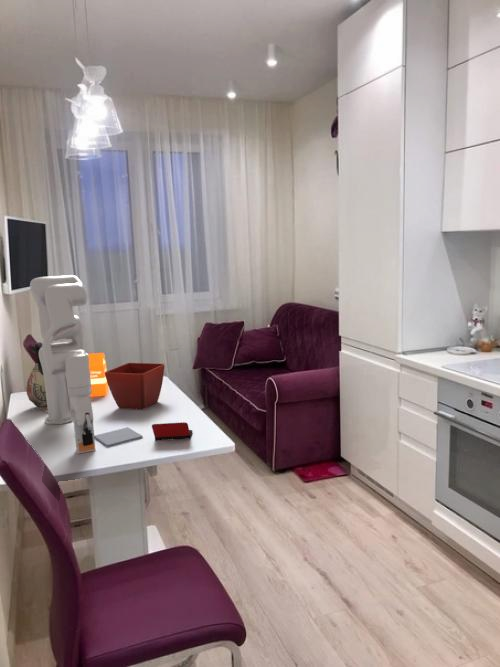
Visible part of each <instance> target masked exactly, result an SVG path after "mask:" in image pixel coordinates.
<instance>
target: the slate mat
mask: <svg viewBox="0 0 500 667" xmlns="http://www.w3.org/2000/svg"><path fill="white" fill-rule="evenodd" d="M94 439H95V440H96V441H98V442H100V443H101V444H102V445H103V446H105V447H106V448H110V447H114V446H118V445H121V444H125V443H129V442H133V441H136V440H141V439H143V435H142V434H140V433H139V432H137V431H136V430H133V429H132V428H130V427H128V426H127V427H123V428H119V429H116V430H112V431H107V432H103V433H99V434H96V435H95V434H94Z"/></svg>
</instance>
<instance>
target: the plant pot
mask: <svg viewBox="0 0 500 667" xmlns="http://www.w3.org/2000/svg"><path fill="white" fill-rule="evenodd" d="M164 373H165V363H149V362H147V363H146V362H127V363H125V364H121V365H120V366H117V367H114V368H112V369H109V370H107V371H106V372H105V377H106V380H107V383H108V388H109V391H110V393H111V395H112V398H113V400H114V402H115V404H116V405H117V408H118V409H125V410H139V411H140V410H141V411H143V410H145V409H147V408H149V407H151V406H152V405H154V404H157V403H158V401H159V398H160V396H161V395H160V394H161V391H162V386H163V380H164V375H165V374H164Z"/></svg>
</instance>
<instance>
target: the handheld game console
mask: <svg viewBox="0 0 500 667" xmlns="http://www.w3.org/2000/svg"><path fill="white" fill-rule="evenodd" d="M151 429H152V432H153V436H154V440H155V441H156V442H159V441H171V440H174V439H175V440H177V441H179V440H190V439H191V438H192V434H193V430H192V429H190V427H189V424H188V423H187V422H184V421H183V422H167V423H153V424H151Z"/></svg>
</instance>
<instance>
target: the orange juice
mask: <svg viewBox="0 0 500 667" xmlns="http://www.w3.org/2000/svg"><path fill="white" fill-rule="evenodd" d="M87 354H88V356H89V369H90V379H91V389H92V394H91V395H90V398H91V397H92V398H93V397H103V396H105V397H106V396H107V395H108V393H109V391H110V389H109V386H108V383H107V380H106V377H105V372H106V371H108V368H107V362H106V357H105V353H104V352H97V353H96V352H95V353H87Z"/></svg>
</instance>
